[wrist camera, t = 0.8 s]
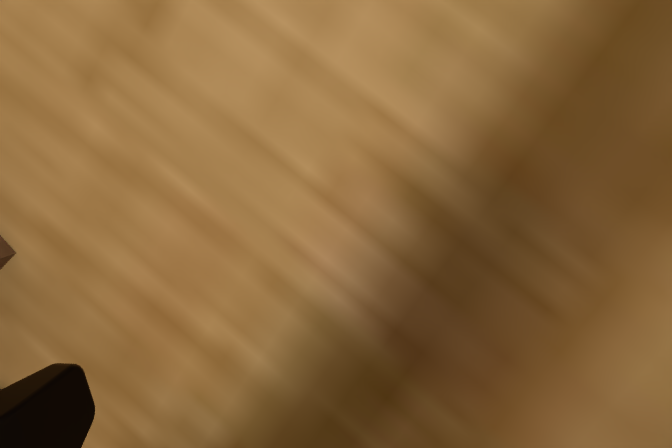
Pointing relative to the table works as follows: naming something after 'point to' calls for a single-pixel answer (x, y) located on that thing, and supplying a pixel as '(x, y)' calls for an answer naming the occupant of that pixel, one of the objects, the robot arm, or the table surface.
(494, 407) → the table surface
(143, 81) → the table surface
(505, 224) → the table surface
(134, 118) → the table surface
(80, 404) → the robot arm
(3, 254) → the walnut block
